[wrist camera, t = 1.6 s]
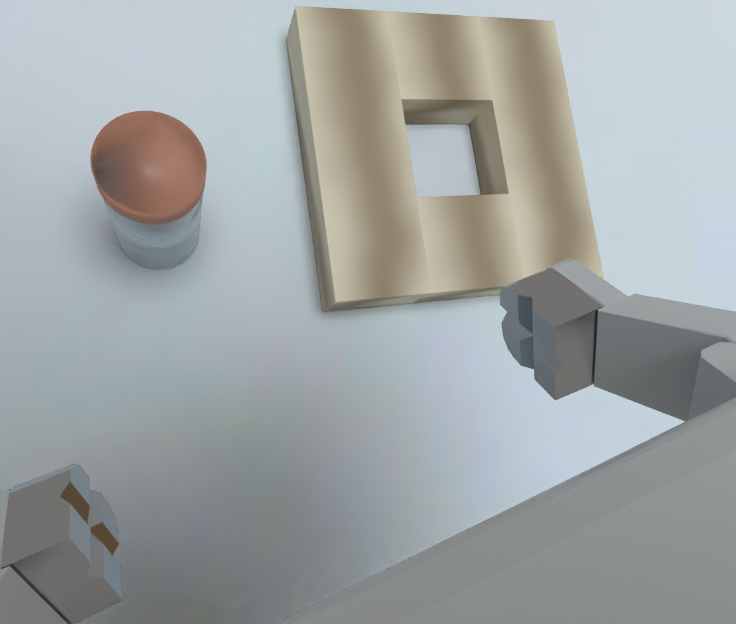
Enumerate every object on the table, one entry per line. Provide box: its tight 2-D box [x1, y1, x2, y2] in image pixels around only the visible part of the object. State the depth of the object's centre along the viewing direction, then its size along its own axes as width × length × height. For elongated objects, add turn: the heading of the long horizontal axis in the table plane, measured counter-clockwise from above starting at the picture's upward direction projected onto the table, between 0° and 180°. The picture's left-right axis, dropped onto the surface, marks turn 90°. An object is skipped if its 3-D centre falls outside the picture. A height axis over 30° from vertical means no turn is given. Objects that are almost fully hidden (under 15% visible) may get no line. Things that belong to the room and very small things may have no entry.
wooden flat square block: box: [286, 6, 603, 312], centre depth 35 cm, size 16×16×3 cm
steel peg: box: [91, 111, 207, 269], centre depth 27 cm, size 4×4×9 cm
